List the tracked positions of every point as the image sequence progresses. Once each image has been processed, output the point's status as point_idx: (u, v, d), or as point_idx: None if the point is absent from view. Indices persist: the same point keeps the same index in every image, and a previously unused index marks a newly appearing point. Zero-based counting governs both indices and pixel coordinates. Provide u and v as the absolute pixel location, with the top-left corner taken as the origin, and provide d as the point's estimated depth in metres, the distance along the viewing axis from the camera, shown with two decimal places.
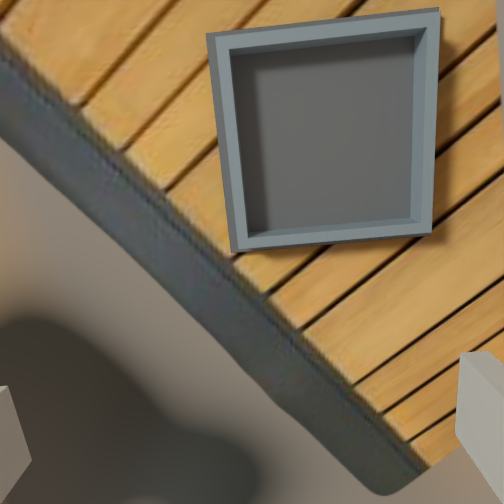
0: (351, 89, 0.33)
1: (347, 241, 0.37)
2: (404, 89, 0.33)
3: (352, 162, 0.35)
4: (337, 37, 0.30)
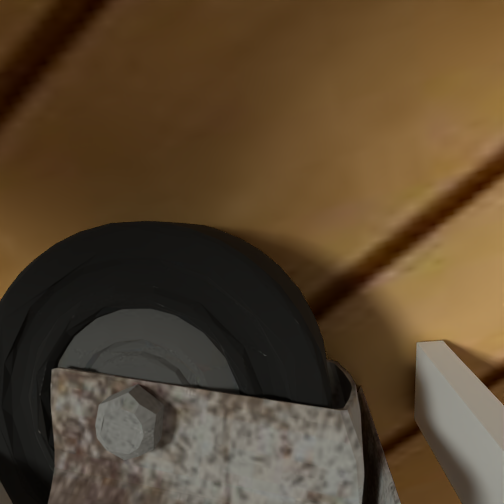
0: None
1: None
2: None
3: None
4: None
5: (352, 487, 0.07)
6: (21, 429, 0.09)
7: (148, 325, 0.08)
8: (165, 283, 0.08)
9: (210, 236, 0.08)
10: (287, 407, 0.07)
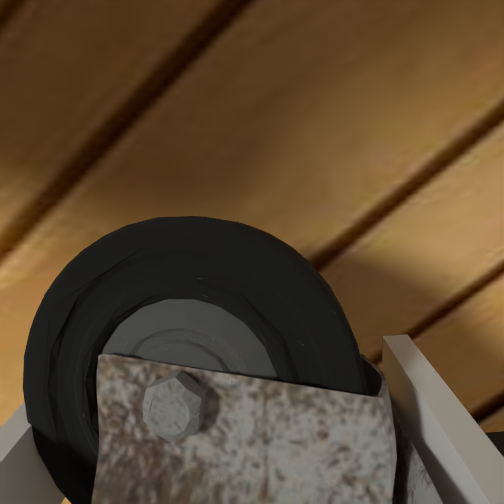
0: None
1: None
2: None
3: None
4: None
5: (385, 470, 0.08)
6: (65, 412, 0.09)
7: (192, 315, 0.08)
8: (209, 275, 0.08)
9: (253, 231, 0.08)
10: (325, 393, 0.08)
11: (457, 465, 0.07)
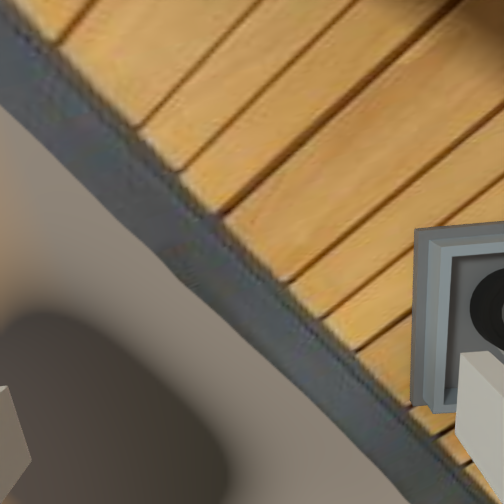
0: None
1: None
2: None
3: None
4: None
5: None
6: (492, 318, 0.34)
7: None
8: None
9: None
10: None
11: None
